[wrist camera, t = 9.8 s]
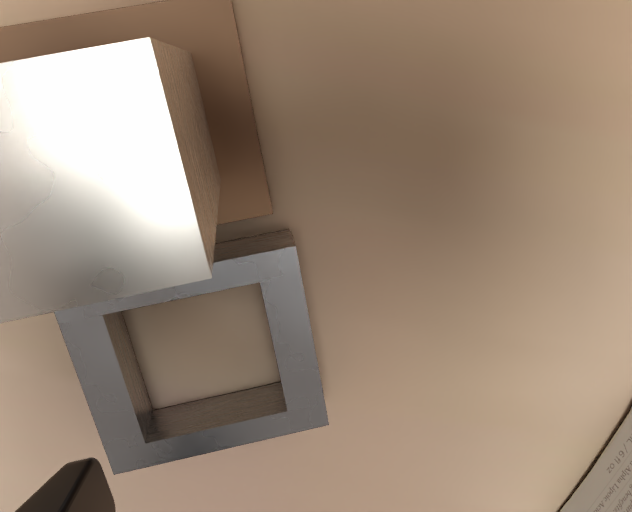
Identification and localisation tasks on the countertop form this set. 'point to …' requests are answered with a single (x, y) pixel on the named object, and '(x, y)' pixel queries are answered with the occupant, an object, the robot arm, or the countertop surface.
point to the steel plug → (103, 177)
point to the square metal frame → (212, 413)
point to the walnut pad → (211, 71)
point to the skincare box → (608, 477)
